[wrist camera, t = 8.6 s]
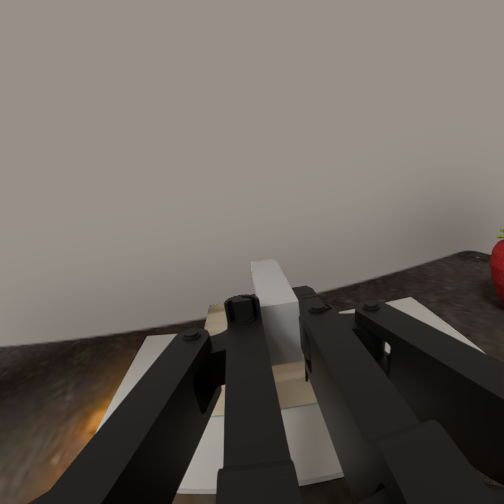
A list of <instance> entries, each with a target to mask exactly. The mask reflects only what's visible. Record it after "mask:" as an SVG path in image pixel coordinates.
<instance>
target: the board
mask: <svg viewBox="0 0 504 504" xmlns="http://www.w3.org/2000/svg"><path fill="white" fill-rule="evenodd" d="M204 329H206V330H208V332H209V334H210V336H212V335H216V334H219V333H221V332H223V331H225V330H226V329H227V318H226V313H225V307H224V304H216V305H210V306H209V310H208V315H207V319H206V323H205V328H204ZM302 358H303V361H300V362H294V363H288V364H282V365H276V366H272V370H273V375H274V380H275V385H276V390H277V394H278V399H279V404H280V409H281V410H283V409H289V408H295V407H301V406H306V405H312V404H317V403H318V402H317V399H316V396H315V394H314V391H313V388H312V385H311V383H310V380H309V378H308V381H307V382H306V381H305V361H304V355H303V352H302ZM221 387H222V391H221V394H220V397H219V399H218V401H217V403H216V406H215V408H214V410H213V413H212V415H211V417H219V416H224V406H225V385H222V386H221Z"/></svg>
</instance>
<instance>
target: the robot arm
mask: <svg viewBox="0 0 504 504" xmlns="http://www.w3.org/2000/svg"><path fill="white" fill-rule="evenodd" d="M250 266H251V273H252V279H253V288H254V294H252V295H238V296H234V297H231V298H229V299H227V300H226V301H225V303H224V307H225V313H226V318H227V329H226V330H225V331H223V332H221V333H219V334H216V335H212V336H210V334H209V332H208V330H206V329H203V328H189V329H185V330H184V331H182V332H180V333H178V334H177V335H176V336H175V337H174V338H173V340H172V341H171V342H170V343H169V344H168V346H167V347H166V348H165V349H164V350H163V352H162V353H161V354H160V355H159V357H158V358H157V359H156V360H155V361H154V363H153V364H152V365H151V366H150V367H149V369H148V370H147V371H146V372H145V374H144V375H143V376H142V377H141V378H140V380H139V381H138V382H137V383H136V385H135V386H134V387H133V388H132V389H131V391H130V392H129V393H128V394H127V396H126V397H125V398H124V399H123V401H122V402H121V403H120V404H119V405H118V407H117V408H116V409H115V410H114V412H113V413H112V414H111V415H110V416H109V418H108V419H107V420H106V421H105V423H104V424H103V425H102V426H101V428H100V429H99V430H98V431H97V432H96V434H95V435H94V436H93V437H92V439H91V440H90V441H89V442H88V444H87V445H86V446H85V447H84V448H83V450H82V451H81V452H80V453H79V455H78V456H77V457H76V458H75V460H74V461H73V462H72V463H71V465H70V466H69V467H68V468H67V470H66V471H65V472H64V473H63V475H62V476H61V477H60V478H59V479H58V481H57V482H56V483H55V484H54V486H53V487H52V488H51V489H50V490H49V491H48V492H46V493H44V494H43V495H41V496H40V497H38V498H36V499H35V500H33V501H32V502H30V503H28V504H172V502H173V499H174V497H175V495H176V493H177V491H178V489H179V486H180V484H181V482H182V480H183V478H184V476H185V473H186V471H187V469H188V467H189V465H190V462H191V460H192V458H193V456H194V454H195V451H196V449H197V447H198V445H199V442H200V440H201V438H202V436H203V433H204V431H205V429H206V426H207V424H208V422H209V420H210V417H211V415H212V413H213V410H214V408H215V406H216V403H217V401H218V399H219V397H220V394H221V391H222V387H221V386H222V385H225V406H224V454H223V468H222V469H219V470H218V472H217V487H216V504H303V501H302V497H301V492H300V487H299V483H298V478H297V474H296V469H295V465H294V462H293V460H291V456H290V451H289V447H288V442H287V437H286V432H285V428H284V423H283V418H282V413H281V409H280V404H279V399H278V394H277V390H276V385H275V380H274V375H273V370H272V366H276V365H282V364H288V363H294V362H300V361H303V358H302V352H303V355H304V361H305V381H306V382H307V381H308V378H309V380H310V383H311V385H312V388H313V391H314V394H315V396H316V399H317V402H318V405H319V407H320V410H321V413H322V416H323V418H324V421H325V424H326V427H327V429H328V432H329V435H330V438H331V440H332V443H333V446H334V449H335V452H336V454H337V457H338V460H339V463H340V466H341V468H342V471H343V474H344V477H345V480H346V482H347V485H348V488H349V491H350V494H351V497H352V502H353V504H504V488H503V487H499V486H495V485H491V484H487V483H484V482H483V481H482V479H481V478H480V477H479V475H478V474H477V472H476V471H475V470H474V468H473V467H475V468H476V469H477V470H479V471H480V472H481V473H483V474H484V475H486V476H487V477H489V478H490V479H492V480H494V481H496V482H498V483H500V484H503V485H504V363H503V362H501V361H499V360H497V359H495V358H493V357H491V356H489V355H487V354H485V353H483V352H481V351H479V350H477V349H475V348H474V347H472V346H470V345H468V344H466V343H464V342H462V341H460V340H458V339H456V338H454V337H452V336H450V335H448V334H446V333H444V332H442V331H440V330H438V329H436V328H434V327H432V326H430V325H428V324H426V323H424V322H422V321H420V320H418V319H416V318H414V317H412V316H410V315H408V314H406V313H404V312H402V311H400V310H398V309H396V308H394V307H392V306H390V305H388V304H386V303H384V302H381V301H377V300H366V301H362V302H360V303H358V304H356V306H355V313H339V312H338V311H337V310H336V308H335V307H334V306H333V305H331V304H328V303H323V302H322V301H321V299H320V298H319V297H318V295H317V294H316V293H315V291H314V290H313V289H312V288H310V287H307V286H301V287H295V288H291V286H290V284H289V283H288V281H287V279H286V277H285V275H284V273H283V272H282V270H281V268H280V266H279V264H278V262H277V260H276V259H271V260H264V261H257V262H250ZM386 343H388V344H389V346H390V353H388V352H386V351H385V344H386ZM472 466H473V467H472Z"/></svg>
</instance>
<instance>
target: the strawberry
mask: <svg viewBox="0 0 504 504" xmlns="http://www.w3.org/2000/svg"><path fill="white" fill-rule="evenodd" d="M500 231H501V232H504V230H501V229H500ZM497 238H504V235H501V236H497ZM490 267H491V275H492V280H493V282H494V285H495V288H496V291H497V293H498V295H499V297H500V299H501V301H502V303H503V306H504V240H501V241H499V242H498V243H497V244H496V245H495V247H494V248H493V250H492V254H491V258H490Z"/></svg>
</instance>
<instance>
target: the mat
mask: <svg viewBox="0 0 504 504" xmlns="http://www.w3.org/2000/svg"><path fill="white" fill-rule="evenodd" d="M386 304H388V305H390V306H392V307H394V308H396V309H398V310H400V311H402V312H404V313H406V314H408V315H410V316H412V317H414V318H416V319H418V320H420V321H422V322H424V323H426V324H428V325H430V326H432V327H434V328H436V329H438V330H440V331H442V332H444V333H446V334H448V335H450V336H452V337H454V338H456V339H458V340H460V341H462V342H464V343H466V344H468V345H470V346H472V347H474V348H475V349H477V350H479V351H481V352H483V351H482V350H481V349H479V348H478V347H477V346H475V345H474V344H473V343H472V342H470V341H469V340H468V339H467V338H465V337H464V336H463V335H461V334H460V333H459V332H457V331H456V330H455V329H454V328H452V327H451V326H450V325H448V324H447V323H446V322H444V321H443V320H442V319H440V318H439V317H438V316H436V315H435V314H434V313H432V312H431V311H429V310H428V309H427V308H425V307H424V306H423V305H421V304H420V303H419V302H417V301H416V300H414V299H413V298H412V297H408V298H404V299H400V300H395V301H391V302H386ZM339 313H355V309H352V310H347V311H342V312H339ZM176 335H177V334H169V335H156V336H147V337H146V339H145V341H144V343H143V345H142V346H141V348H140V350H139V352H138V354H137V355H136V357H135V359H134V361H133V363H132V364H131V366H130V368H129V370H128V372H127V374H126V375H125V377H124V379H123V381H122V383H121V385H120V387H119V389H118V390H117V392H116V394H115V396H114V398H113V400H112V402H111V404H110V406H109V408H108V410H107V411H106V413H105V415H104V417H103V419H102V421H101V423H100V425H99V427H98V429H97V431H98V430H99V429H100V428H101V426H102V425H103V424H104V423H105V421H106V420H107V419H108V418H109V416H110V415H111V414H112V413H113V412H114V410H115V409H116V408H117V407H118V405H119V404H120V403H121V402H122V401H123V399H124V398H125V397H126V396H127V394H128V393H129V392H130V391H131V389H132V388H133V387H134V386H135V385H136V383H137V382H138V381H139V380H140V378H141V377H142V376H143V375H144V374H145V372H146V371H147V370H148V369H149V367H150V366H151V365H152V364H153V363H154V361H155V360H156V359H157V358H158V357H159V355H160V354H161V353H162V352H163V350H164V349H165V348H166V347H167V346H168V344H169V343H170V342H171V341H172V340H173V338H174V337H175V336H176ZM385 351H386V352H388V353H390V346H389V344H388V343H386V344H385ZM483 353H484V352H483ZM485 354H486V353H485ZM281 413H282V418H283V423H284V428H285V432H286V437H287V442H288V447H289V451H290V456H291V460H293V462H294V465H295V469H296V474H297V478H298V483H299V486H303V485H308V484H313V483H318V482H323V481H328V480H332V479H336V478H340V477H344V474H343V471H342V468H341V466H340V463H339V460H338V457H337V454H336V452H335V449H334V446H333V443H332V440H331V438H330V435H329V432H328V429H327V427H326V424H325V421H324V418H323V416H322V413H321V410H320V407H319V405H318V403H317V404H312V405H306V406H301V407H295V408H289V409H283V410H281ZM97 431H96V432H97ZM95 434H96V433H95ZM223 454H224V416H219V417H210V420H209V422H208V424H207V426H206V429H205V431H204V433H203V436H202V438H201V440H200V442H199V445H198V447H197V449H196V451H195V454H194V456H193V458H192V460H191V462H190V465H189V467H188V469H187V471H186V473H185V476H184V478H183V480H182V482H181V484H180V486H179V489H178V491H177V493H181V494H216V487H217V472H218V470H219V469H222V468H223Z"/></svg>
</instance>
